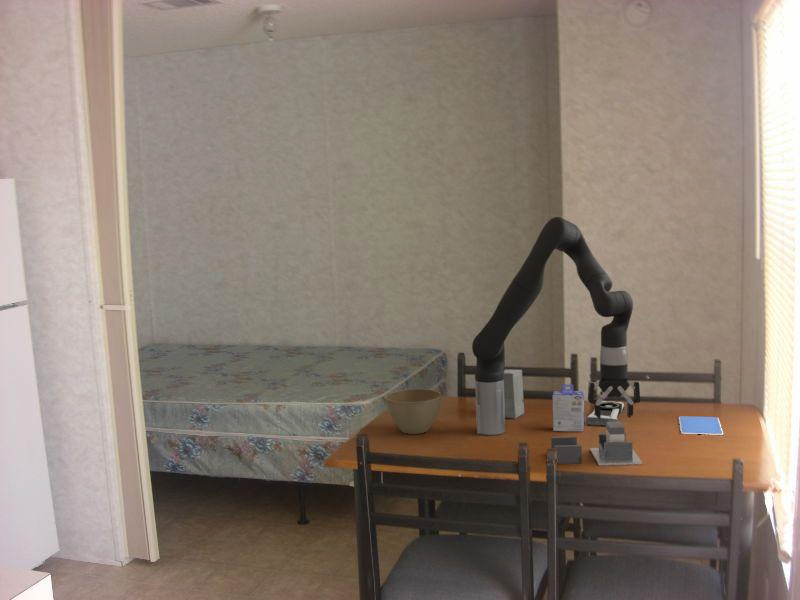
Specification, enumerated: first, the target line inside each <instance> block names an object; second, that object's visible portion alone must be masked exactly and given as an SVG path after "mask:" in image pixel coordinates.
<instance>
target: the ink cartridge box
mask: <svg viewBox="0 0 800 600" xmlns="http://www.w3.org/2000/svg"><path fill="white" fill-rule="evenodd" d="M567 387H568V388H567ZM551 398H552V402H551V403H552V432H584V430H585V429H584V428H585V401H584V399H585V398H584V392H583V391H582V390H578V391H577V390H576V391H575V390H574V384H561V390H559V391H552V397H551Z"/></svg>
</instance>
